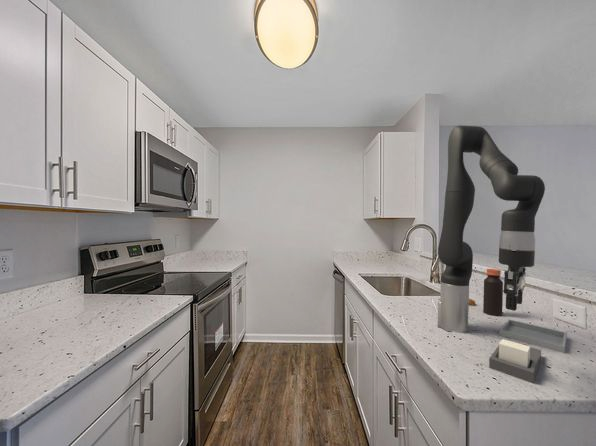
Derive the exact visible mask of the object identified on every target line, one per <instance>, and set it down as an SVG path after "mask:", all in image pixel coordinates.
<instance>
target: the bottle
mask: <svg viewBox="0 0 596 446" xmlns="http://www.w3.org/2000/svg"><path fill="white" fill-rule="evenodd" d="M501 272H502V271H501V269H496V268H486V275H487V277H485V278H484V280H483V302H482V303H483V305H482V306H483V309H482V312H483V314H485V315H489V316H492V317H503V306H504V305H503V301H504V298H503V296H504V292H503V290H504V282H503V281H504V280H502V279H501Z"/></svg>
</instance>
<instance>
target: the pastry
mask: <svg viewBox="0 0 596 446" xmlns="http://www.w3.org/2000/svg"><path fill="white" fill-rule="evenodd" d="M475 305H476V301H475V300H474V299H472V298H469V307H470V306H475Z"/></svg>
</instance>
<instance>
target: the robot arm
mask: <svg viewBox="0 0 596 446" xmlns="http://www.w3.org/2000/svg"><path fill="white" fill-rule="evenodd" d="M447 140H448V141H447V176H446V187H445V193H444V194H445V195H444V208H443V217H442V226H441V227H442V228H441V234H440V238H439V242H438V247H437V256H438V259H439V261H440V262H441V263H442V264H443V265H445V269H444V271H443V272H442V273H441V275H440V294H439V295H440V299H439V301H438V302H437V327H439V328H440V329H442V330H444V331H447V332H451V333H452V332H454V333H467V332H468V331H469V312H470V311H469V310H470V309H469V307H470V306H469V299H470V280H471V278H472V276H473V275H472V274H473V264H474V263H473V262H474V261H473V260H474V257H473V256H474V254H473V249H472V247H471V245H469V243H468V242H466V241H464V230H465V227H466V224H467V222H468V219H469V218H470V215H471V213H472V211H473V207H474V201H475V193H476V186H475V184H474V182H473V179H472V178H471V176H470V174H469V172H468V171H467V169H466V166H465V162H464V153H475V154H477V155H478V156H480V158H479V164H478V165H479V168H480V170H481V172H482V173H483V174H484V175H485V176H486V177H487V178H488V180H490V183H491V185H492V186H491V187H492V188H493V192H494V194H495V196H496V197H497V198H499V199H501V200H503V201H507V202H508V201H510V202H513V201H514V202H518V203H517V206H516V207H515V208H511V209H508V210H504V211H503V212H502V213H501V224H500V236H499V243H498V244H499V245H498V263H499V264H501V265H506V266H508V267H507V270H504V277H503V279H504V280H503V281H504V282H503V294H504V295H505V309H506V310H509V311H516V310H517V309H518V305H522V304H523V295H524V294H523V293H524V292H523V291H524V290H525V287H526V277H527V273H526V270H527V269H526V268H532V267H534V266H535V260H536V259H535V257H536V255H535V254H536V253H535V252H536V236H535V229H536V227H535V226H536V223H535V222H536V221H535V220H536V219H535V218H536V216H537V213H538V210H539V208H540V205H541V202H542V201H543V198H544V195H545V190H546V185H545V182H544V180H543V179H542V178H541V177H539V176H538V175H534V174H533V175H532V174H529V175H528V174H527V175H526V174H525V175H524V174H519V168H518V166H517V164H516V163H514V162H513V161H512V160H511V159H510V158H509V157H507V155H505V154H504V153H503V152H502V151H501V150H500V149H499V147H498V146H497V144H496V143H495V141H494V140H493V138H492V137H491V135H490V133H489V132H488V131H487V129H485V128H484V127H482V126H477V125H460V124H459V125H456V126H454V127H453V128H452V129H451V131H450V133H449V136H448V139H447Z"/></svg>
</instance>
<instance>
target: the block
mask: <svg viewBox="0 0 596 446" xmlns="http://www.w3.org/2000/svg"><path fill="white" fill-rule="evenodd" d="M498 346H499V358H500V359H503V360H506V361H509V362H512V363H515V364H518V365H521V366H524V367H527V368H530V347H531V346H530V345H529V346H528V345H524V344H521V343H518V342H514V341H511V340H507V339H504V338H502V339H501V340H500V342H499V343H498Z"/></svg>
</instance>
